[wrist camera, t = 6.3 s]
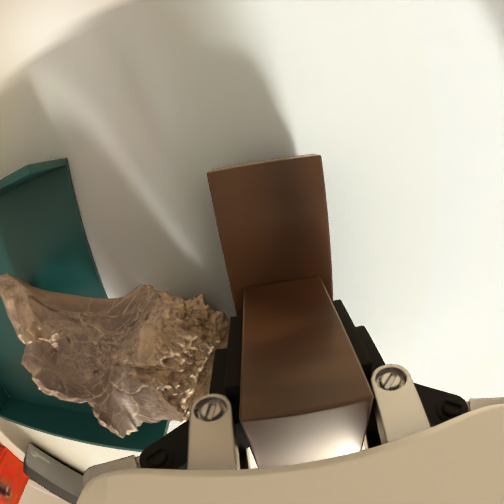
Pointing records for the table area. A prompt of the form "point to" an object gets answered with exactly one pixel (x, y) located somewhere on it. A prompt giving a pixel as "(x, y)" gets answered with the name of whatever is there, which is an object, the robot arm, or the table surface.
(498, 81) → the table surface
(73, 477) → the hard drive
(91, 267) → the dustpan
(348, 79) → the table surface
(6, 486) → the file binder
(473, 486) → the robot arm
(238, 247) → the brown stepped block
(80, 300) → the rock
